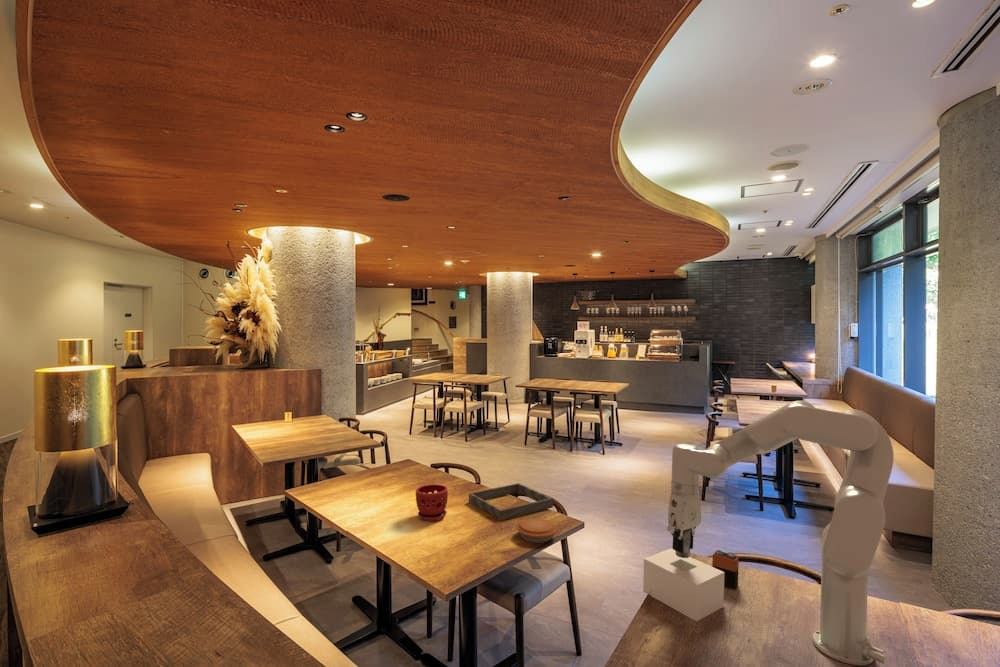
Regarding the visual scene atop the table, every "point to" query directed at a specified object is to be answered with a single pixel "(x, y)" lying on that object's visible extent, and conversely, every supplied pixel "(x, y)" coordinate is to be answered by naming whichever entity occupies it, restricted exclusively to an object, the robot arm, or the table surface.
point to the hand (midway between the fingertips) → (682, 548)
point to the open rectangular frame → (540, 504)
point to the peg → (685, 544)
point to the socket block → (684, 584)
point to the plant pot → (431, 502)
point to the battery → (727, 567)
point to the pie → (536, 530)
